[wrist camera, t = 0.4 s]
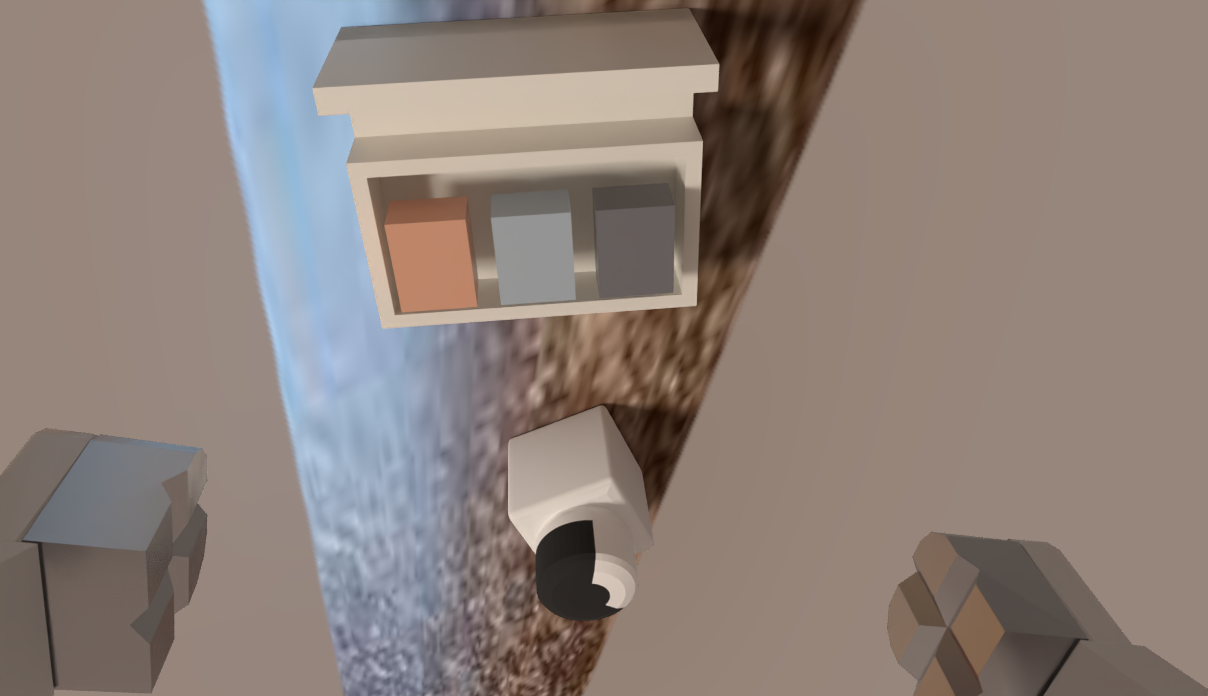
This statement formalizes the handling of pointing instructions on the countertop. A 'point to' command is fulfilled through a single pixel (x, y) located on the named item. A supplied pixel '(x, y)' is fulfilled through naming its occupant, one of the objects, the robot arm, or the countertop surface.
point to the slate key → (533, 246)
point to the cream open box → (522, 134)
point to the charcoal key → (634, 239)
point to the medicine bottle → (580, 513)
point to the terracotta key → (432, 253)
